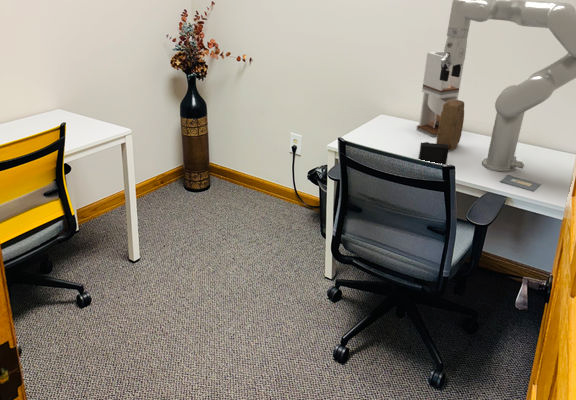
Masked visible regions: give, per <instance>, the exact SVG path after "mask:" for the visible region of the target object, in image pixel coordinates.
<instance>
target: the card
mask: <svg viewBox="0 0 576 400" xmlns="http://www.w3.org/2000/svg"><path fill="white" fill-rule="evenodd" d="M499 183H501V184H505V185H509V186H512V187H516V188H520V189H523V190H526V191H530V192H535V191H536V190H537V189H538V188H539V187H540V186H541V185H542V183H540V182H536V181H533V180H532V181H531V180H529V179H524V178H520V177H518V176H515V175H511V174H507V175H505V176H504V177H503V178H502V179H501V180H500V181H499Z"/></svg>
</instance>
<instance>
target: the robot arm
mask: <svg viewBox="0 0 576 400" xmlns="http://www.w3.org/2000/svg"><path fill="white" fill-rule="evenodd" d="M451 3H452V4H451V10H450V14H449V20H448V26H447V31H446V37H447V38H446V42H445V45H444V49H443V51H444V54H443V58H442V59H441V74H440V80H442V81H448V77H449V72H450V71H448V70H449V69H450V67H451V65H453V68H452V74H451V76H454V77H459V76H460V71H461V66H462V63H463V62H464V63H465V59H466V53H467V47H468V45H467V44H468V37H469V31H470V25H471V21H475V22H476V23H477V22H478V23H484V22H487V21H489V20H495V21H505V22H510V23H511V22H512V23H513V24H514V23H515V24H516V25H518V26H521V27H527V28H528V27H529V28H543V29H548V30H549V31H550V32H551V34H552V35H553V36H554V38H555V39H556V40H557V41H558V42H559V43H560V45H561V46H562V48H564V50H565V51H566V52H567V53H566V54H565V55H564V56H562V57H560V58H559V59H558V60H556V61H554V62H553V63H551V64H549V65H547V66H545V67H544V68H542V69H539V70H538V71H536V72H534V73H532V74H531V75H530V76H529V77H528V78H527V79H526V80H524V81H522V82H520V83H519V84H517V85H516V84H512V85H509V86H507V87H506V88H504V89H503V90H502V91H501V93H500V94H499V95H498V96H497V98H496V100H495V102H494V103H495V104H494V108H495V110H496V115H495V119H494V123H493V129H492V132H491V139H490V143H489V147H488V153H487V157H486V158H483V159H482V162H481V165H482V166H483V167H484V168H486V169H489V170H491V171H494V172H501V173H509V172H514V171H515V170H516V169H517V168H518V169H521V170H523V169H524V167H525V164H524V162H523V161H519V160H517V156H515V154H516V150H517V146H518V142H519V137H520V133H521V129H522V125H523V120H524V116H525V113H526V112H528V110H531V109H532V108H534V107H536V106H538V105H540V104H542V103H543V102H545V101H546V100H548V99H549V98H550V97H551V96H552V95H553V93H554V92H555V91H556V90H557V89H559V88H561V87H563V86H564V85H566V84H568V83H570V82H571V81H573V80H575V79H576V8H575V6H574V5H573V4H571V3H567V2H560V1H559V2H558V1H557V2H556V1H545V0H543V1H542V0H452V2H451ZM447 65H448V67H447Z"/></svg>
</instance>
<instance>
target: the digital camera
mask: <svg viewBox="0 0 576 400" xmlns="http://www.w3.org/2000/svg"><path fill="white" fill-rule="evenodd" d="M449 151H450V150H449V147H448V145H447V144H436V142H435V143H432V142H428V141H426V142H425V141H424V142H420V147H419V153H418V160H419V159H421V160H425V161H430V162H435V163H440V164H439V165H447V161H448V154H449ZM441 163H442V164H441Z"/></svg>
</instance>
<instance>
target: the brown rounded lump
mask: <svg viewBox="0 0 576 400" xmlns="http://www.w3.org/2000/svg"><path fill="white" fill-rule="evenodd" d="M464 122H465V101H463V100H459V99H458V100H453V99H452V100H449V101H447V102H446V103H444V105H443V110H442V112H441V117H440V122H439V128H438V134H437V137H436V142H435V144H447V145H448V147H449V150H448V151H454V150H455V149H457V147H458V145H459V143H460V142H461V139H462V138H461V137H462V132H463V128H464V127H463V126H464Z"/></svg>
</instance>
